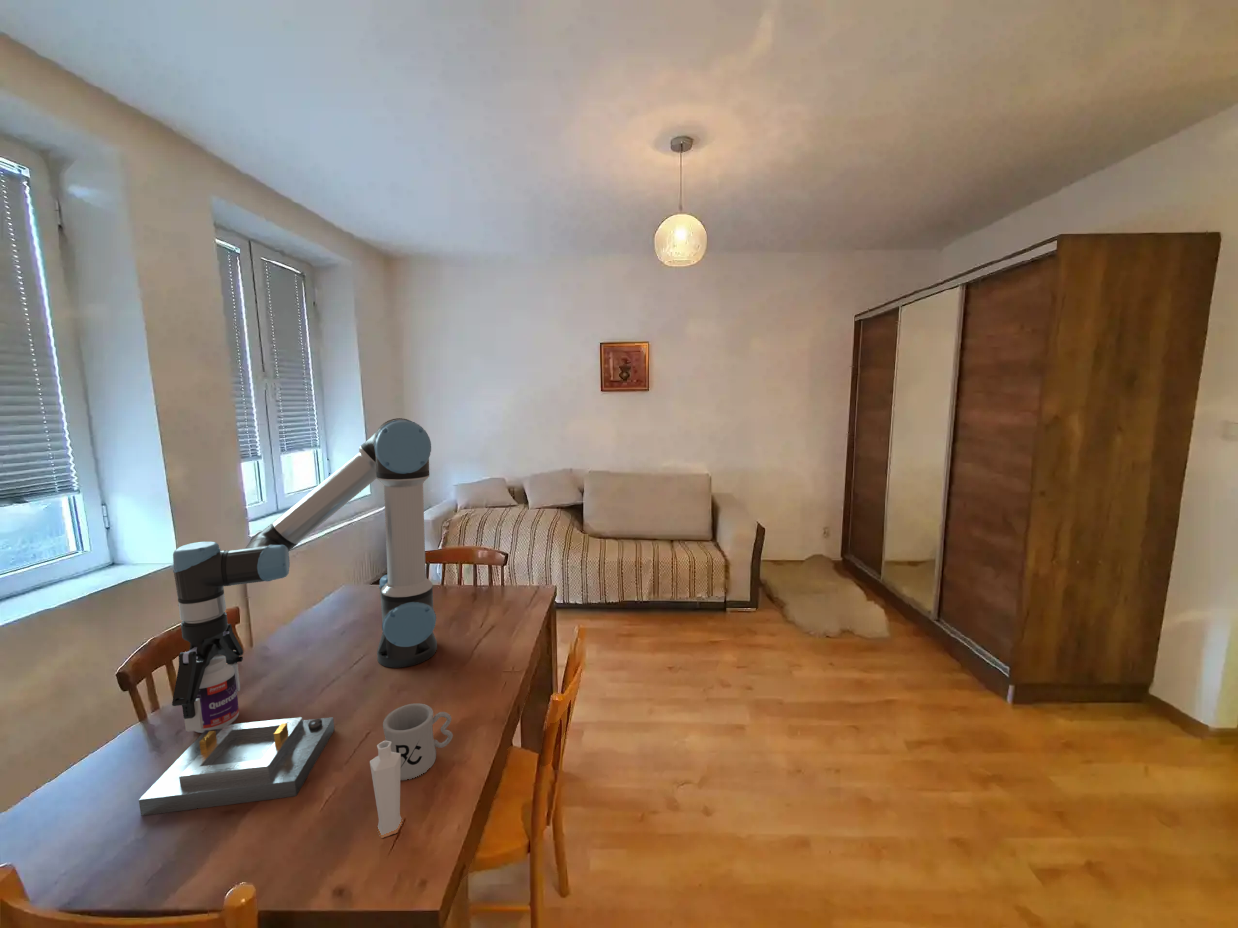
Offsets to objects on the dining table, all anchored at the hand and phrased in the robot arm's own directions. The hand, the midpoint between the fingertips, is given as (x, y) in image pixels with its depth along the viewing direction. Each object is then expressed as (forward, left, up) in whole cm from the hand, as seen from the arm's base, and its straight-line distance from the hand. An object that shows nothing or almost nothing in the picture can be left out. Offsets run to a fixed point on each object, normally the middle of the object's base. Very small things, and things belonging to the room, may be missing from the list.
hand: (215, 709), depth 109 cm
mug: (-46, +20, -4) cm, 50 cm away
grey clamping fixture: (-14, +16, -3) cm, 21 cm away
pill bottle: (0, 0, -4) cm, 4 cm away
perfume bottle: (-44, +35, -3) cm, 56 cm away
